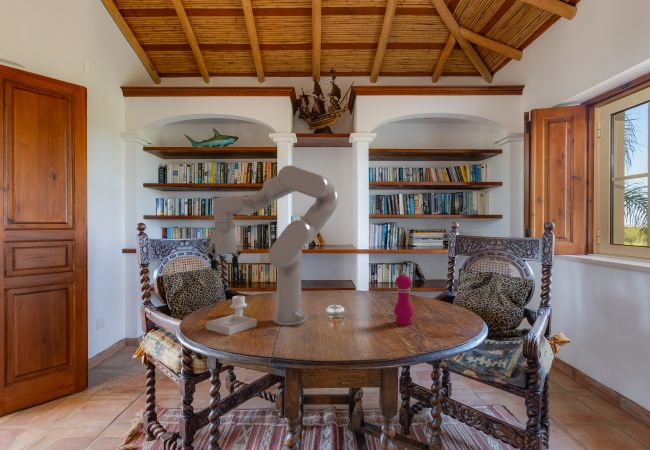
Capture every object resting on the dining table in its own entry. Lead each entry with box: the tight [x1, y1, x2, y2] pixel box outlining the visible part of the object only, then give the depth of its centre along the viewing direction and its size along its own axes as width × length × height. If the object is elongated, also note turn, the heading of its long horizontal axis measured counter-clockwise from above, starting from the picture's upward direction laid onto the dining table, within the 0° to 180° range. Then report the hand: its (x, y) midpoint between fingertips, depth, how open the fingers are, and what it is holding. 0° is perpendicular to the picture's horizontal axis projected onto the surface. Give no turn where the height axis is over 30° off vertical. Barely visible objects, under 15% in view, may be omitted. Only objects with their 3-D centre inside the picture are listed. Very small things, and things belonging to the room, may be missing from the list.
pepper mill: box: [393, 270, 414, 326], centre depth 131 cm, size 7×7×20 cm
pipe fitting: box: [229, 295, 248, 316], centre depth 144 cm, size 6×7×8 cm
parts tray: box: [205, 313, 258, 336], centre depth 128 cm, size 13×13×3 cm
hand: (224, 268), depth 141 cm, fingers open, 9 cm apart
